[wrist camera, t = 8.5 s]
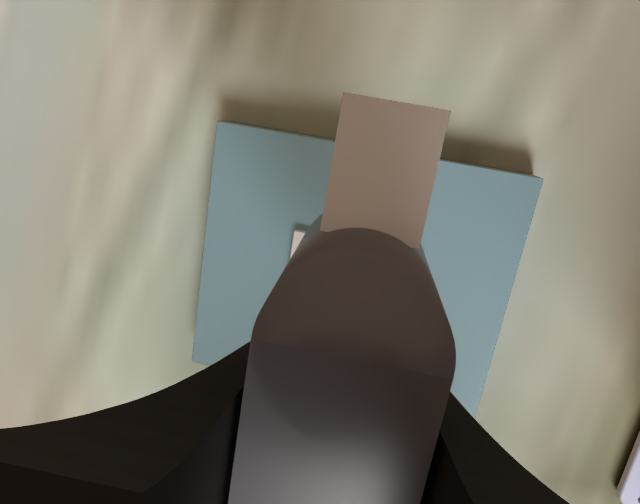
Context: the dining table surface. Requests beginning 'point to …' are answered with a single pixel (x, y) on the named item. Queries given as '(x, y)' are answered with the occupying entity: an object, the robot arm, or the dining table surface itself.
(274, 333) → the plug
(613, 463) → the dining table surface
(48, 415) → the dining table surface
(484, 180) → the board
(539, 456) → the dining table surface
